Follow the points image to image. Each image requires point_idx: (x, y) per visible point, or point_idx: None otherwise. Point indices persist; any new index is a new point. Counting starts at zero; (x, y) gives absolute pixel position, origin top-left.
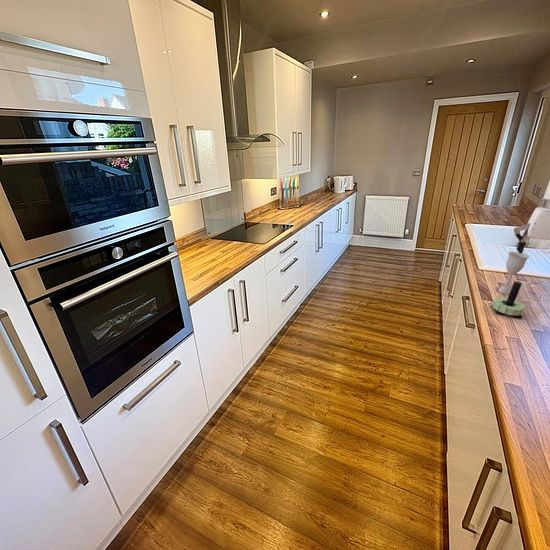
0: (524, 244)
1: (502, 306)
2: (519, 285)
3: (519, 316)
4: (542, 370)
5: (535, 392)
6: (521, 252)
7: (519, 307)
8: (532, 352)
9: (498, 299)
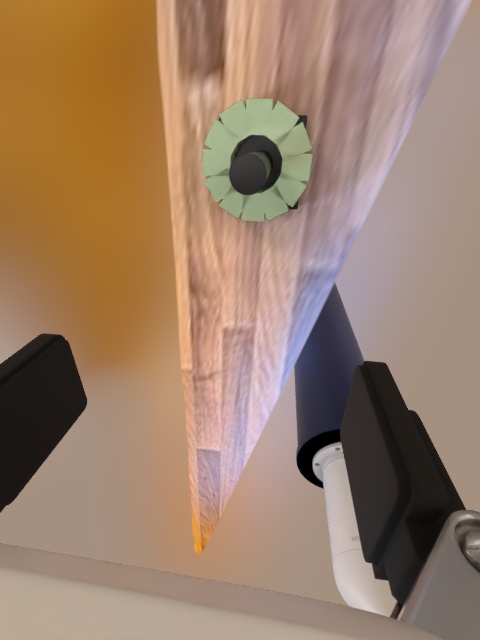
0: (9, 494)
1: (225, 210)
2: (253, 193)
3: (289, 208)
4: (265, 414)
5: (236, 456)
6: (75, 413)
7: (287, 190)
8: (266, 371)
9: (220, 140)
